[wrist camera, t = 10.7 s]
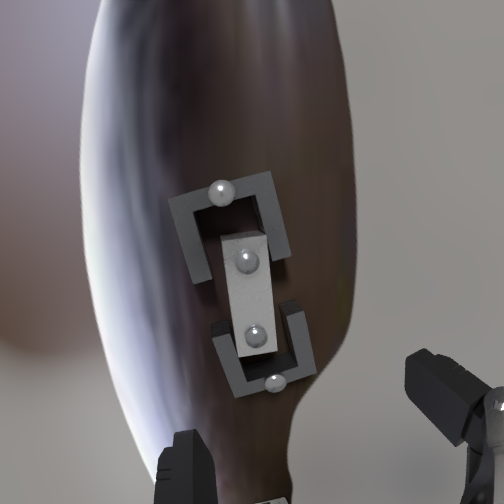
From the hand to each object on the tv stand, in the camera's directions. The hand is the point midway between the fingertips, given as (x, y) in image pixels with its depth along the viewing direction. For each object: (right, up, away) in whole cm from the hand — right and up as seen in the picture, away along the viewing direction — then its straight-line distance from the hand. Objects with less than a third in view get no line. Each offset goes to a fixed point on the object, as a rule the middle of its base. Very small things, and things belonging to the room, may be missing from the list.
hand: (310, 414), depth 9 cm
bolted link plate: (-3, +3, +18) cm, 18 cm away
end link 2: (-1, -3, +19) cm, 19 cm away
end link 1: (-4, +8, +17) cm, 19 cm away
